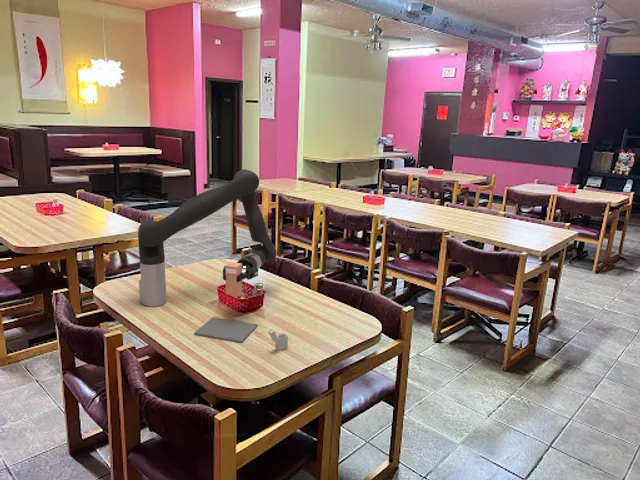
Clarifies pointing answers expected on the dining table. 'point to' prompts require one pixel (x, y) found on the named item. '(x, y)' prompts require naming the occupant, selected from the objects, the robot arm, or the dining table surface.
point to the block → (233, 278)
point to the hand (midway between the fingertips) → (230, 278)
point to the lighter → (279, 340)
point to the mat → (226, 330)
